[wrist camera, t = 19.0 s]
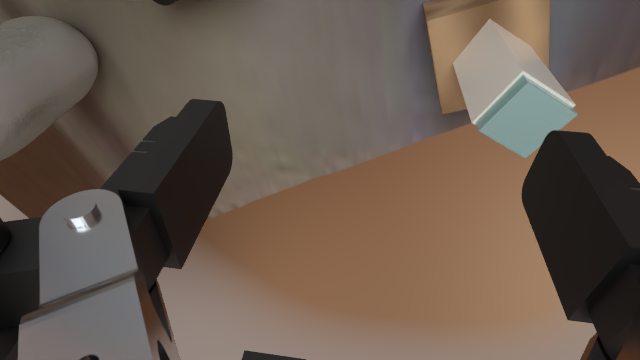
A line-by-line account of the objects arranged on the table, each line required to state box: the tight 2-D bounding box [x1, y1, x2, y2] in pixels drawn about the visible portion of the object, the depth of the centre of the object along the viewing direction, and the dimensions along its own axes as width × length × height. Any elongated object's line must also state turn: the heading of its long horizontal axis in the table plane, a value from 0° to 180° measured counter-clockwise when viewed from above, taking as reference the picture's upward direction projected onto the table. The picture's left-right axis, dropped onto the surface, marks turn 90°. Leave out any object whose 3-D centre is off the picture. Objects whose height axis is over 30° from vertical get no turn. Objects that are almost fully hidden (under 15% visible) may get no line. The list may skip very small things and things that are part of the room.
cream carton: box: [453, 19, 577, 158], centre depth 31 cm, size 5×5×12 cm
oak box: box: [423, 0, 550, 114], centre depth 38 cm, size 10×10×6 cm
